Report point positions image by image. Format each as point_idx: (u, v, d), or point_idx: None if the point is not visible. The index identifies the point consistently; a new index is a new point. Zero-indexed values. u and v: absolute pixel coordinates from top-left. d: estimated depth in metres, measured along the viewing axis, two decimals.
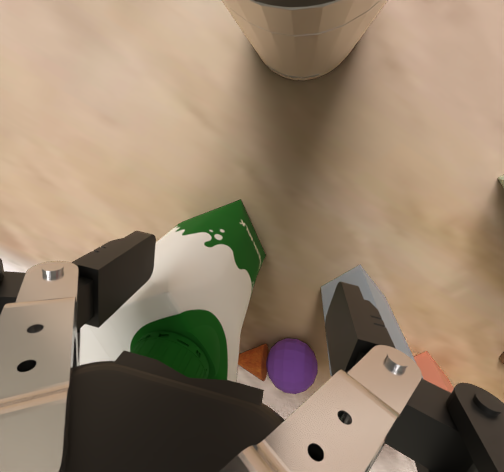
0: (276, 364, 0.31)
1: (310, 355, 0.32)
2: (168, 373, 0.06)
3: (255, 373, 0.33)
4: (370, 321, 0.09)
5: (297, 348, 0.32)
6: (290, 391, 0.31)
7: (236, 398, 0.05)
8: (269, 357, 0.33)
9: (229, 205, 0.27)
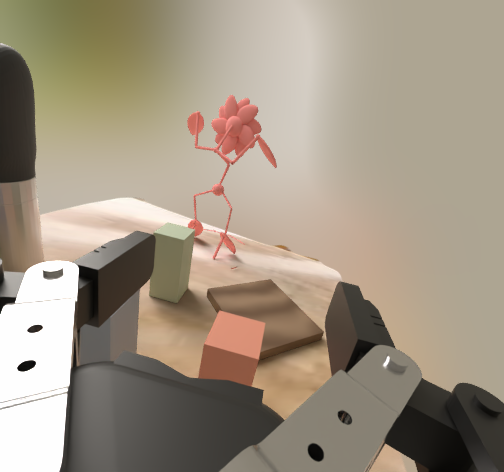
0: None
1: None
2: (168, 373, 0.06)
3: None
4: (370, 321, 0.09)
5: None
6: None
7: (236, 398, 0.05)
8: None
9: None
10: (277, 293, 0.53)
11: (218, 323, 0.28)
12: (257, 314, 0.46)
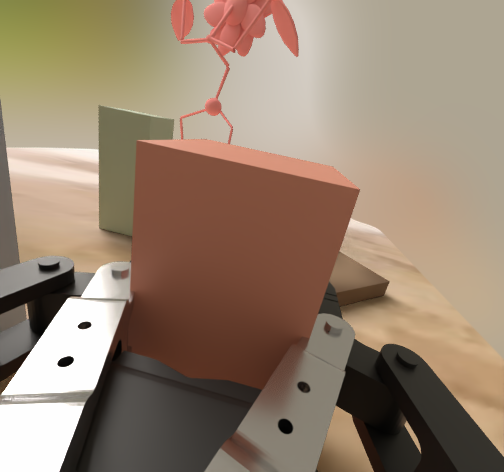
0: None
1: None
2: (168, 374, 0.06)
3: None
4: None
5: None
6: None
7: (236, 398, 0.05)
8: None
9: None
10: None
11: (201, 142, 0.09)
12: None
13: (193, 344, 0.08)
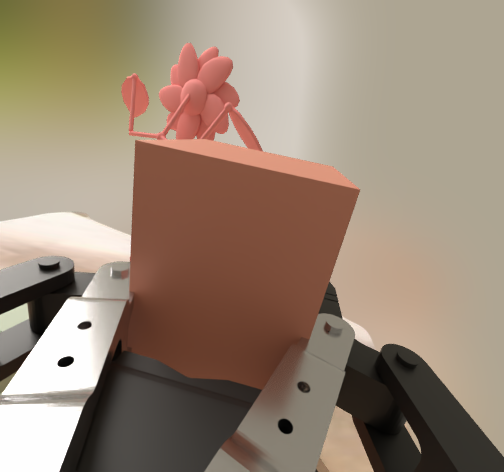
0: None
1: None
2: (168, 373, 0.06)
3: None
4: None
5: None
6: None
7: (236, 398, 0.05)
8: None
9: None
10: None
11: (200, 142, 0.09)
12: None
13: (192, 344, 0.08)
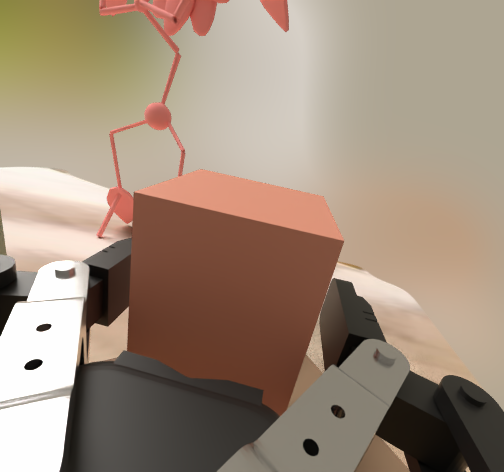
0: None
1: None
2: (168, 373, 0.06)
3: None
4: (362, 316, 0.09)
5: None
6: None
7: (236, 398, 0.05)
8: None
9: None
10: None
11: (196, 178, 0.09)
12: None
13: (189, 375, 0.08)
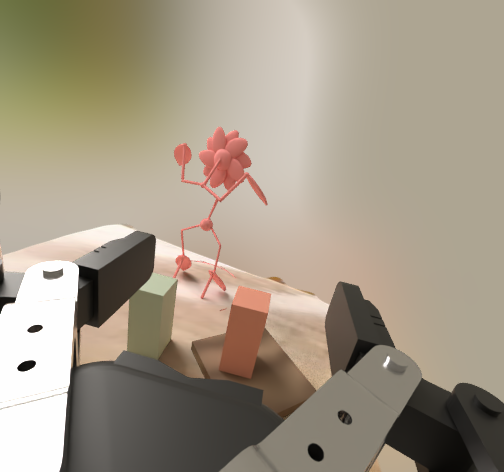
0: None
1: None
2: (168, 373, 0.06)
3: None
4: (370, 321, 0.09)
5: None
6: None
7: (236, 398, 0.05)
8: None
9: None
10: (268, 343, 0.49)
11: (239, 293, 0.40)
12: None
13: (239, 338, 0.39)
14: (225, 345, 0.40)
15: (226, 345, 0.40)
